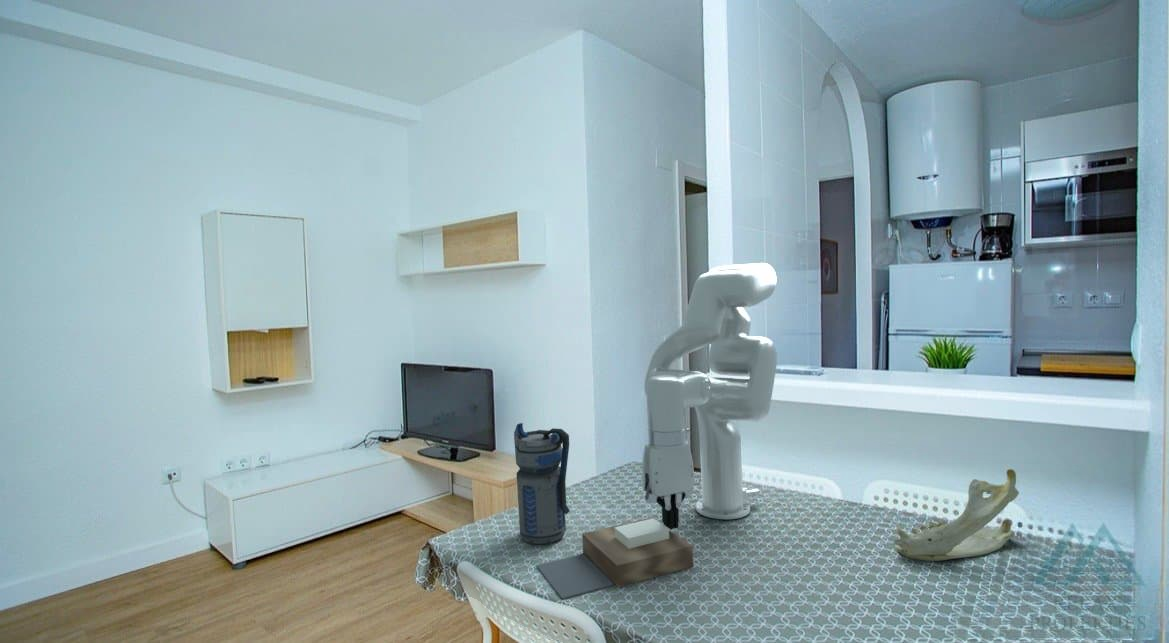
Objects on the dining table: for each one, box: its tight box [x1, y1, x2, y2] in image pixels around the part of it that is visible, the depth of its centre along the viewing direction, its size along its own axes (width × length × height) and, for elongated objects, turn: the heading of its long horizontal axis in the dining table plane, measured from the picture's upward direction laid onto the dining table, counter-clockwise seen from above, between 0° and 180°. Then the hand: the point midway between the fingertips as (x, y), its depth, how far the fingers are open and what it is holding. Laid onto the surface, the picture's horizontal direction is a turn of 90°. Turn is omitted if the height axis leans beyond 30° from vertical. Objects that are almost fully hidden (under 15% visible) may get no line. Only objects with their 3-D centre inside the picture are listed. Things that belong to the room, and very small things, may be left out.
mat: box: [536, 553, 615, 601], centre depth 109 cm, size 10×14×1 cm
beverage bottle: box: [513, 422, 571, 545], centre depth 126 cm, size 10×13×25 cm
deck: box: [581, 517, 694, 588], centre depth 114 cm, size 16×16×4 cm
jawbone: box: [892, 468, 1020, 562], centre depth 110 cm, size 25×18×10 cm
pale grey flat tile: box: [614, 518, 670, 549], centre depth 115 cm, size 9×6×2 cm, turn 113°
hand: (670, 526), depth 117 cm, fingers closed
